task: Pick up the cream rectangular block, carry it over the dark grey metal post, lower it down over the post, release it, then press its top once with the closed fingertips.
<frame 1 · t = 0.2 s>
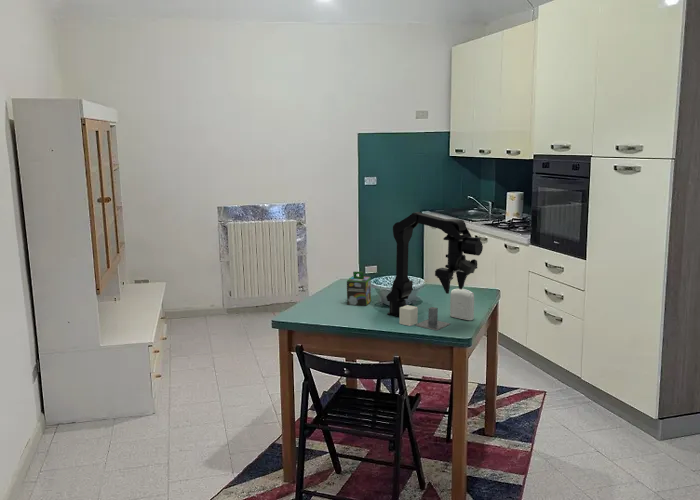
hand: (454, 291, 249), 14 cm above the table, fingers open, 9 cm apart
cream rectangular block: (408, 323, 256), on the table
chalk box: (359, 303, 287), on the table
post: (432, 325, 254), on the table
photo printer: (461, 318, 263), on the table
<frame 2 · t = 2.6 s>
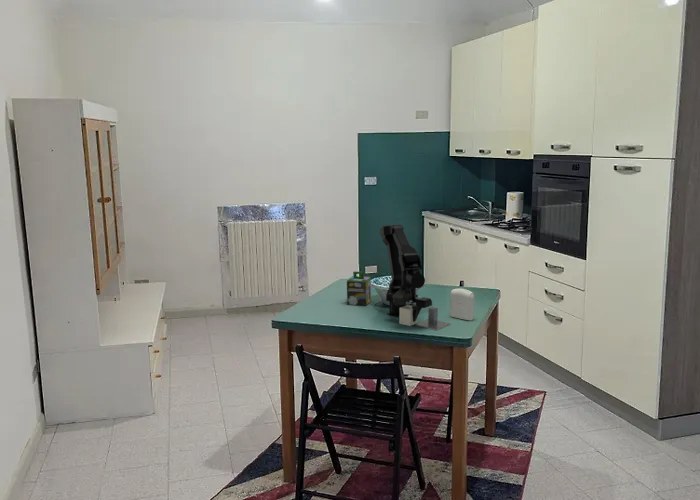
hand: (408, 320, 256), 1 cm above the table, fingers closed on cream rectangular block, 5 cm apart
cream rectangular block: (408, 323, 256), on the table, touching gripper
everything else where it was.
when the fingers open (3 cm above the table, at t = 6.5 s): cream rectangular block stays where it is, resting on post.
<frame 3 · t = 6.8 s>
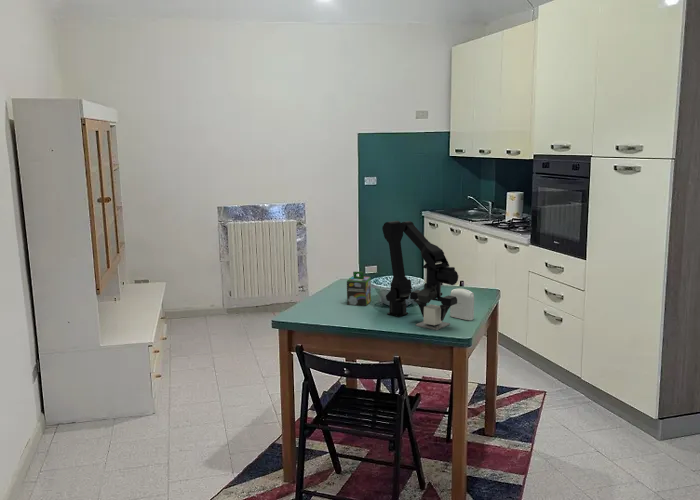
hand: (432, 318, 253), 3 cm above the table, fingers open, 8 cm apart
cream rectangular block: (432, 322, 253), point 1 cm above the table, touching post
everything else where it was.
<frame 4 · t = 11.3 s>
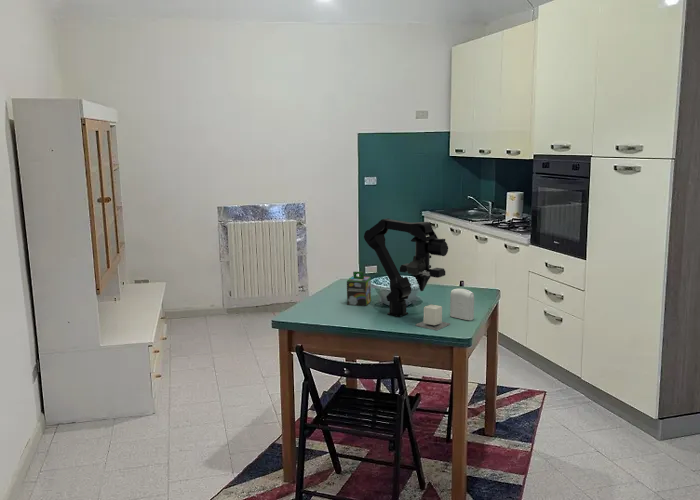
hand: (421, 290, 259), 12 cm above the table, fingers closed
nothing on the table moved.
at the end: cream rectangular block 0.1 cm from the post (horizontally); cream rectangular block point 1.0 cm above the table; the gripper is holding nothing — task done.
